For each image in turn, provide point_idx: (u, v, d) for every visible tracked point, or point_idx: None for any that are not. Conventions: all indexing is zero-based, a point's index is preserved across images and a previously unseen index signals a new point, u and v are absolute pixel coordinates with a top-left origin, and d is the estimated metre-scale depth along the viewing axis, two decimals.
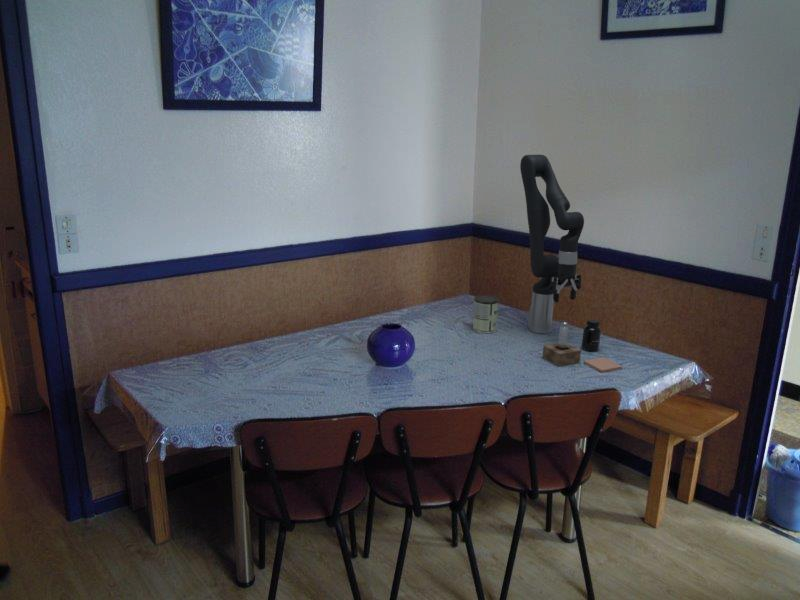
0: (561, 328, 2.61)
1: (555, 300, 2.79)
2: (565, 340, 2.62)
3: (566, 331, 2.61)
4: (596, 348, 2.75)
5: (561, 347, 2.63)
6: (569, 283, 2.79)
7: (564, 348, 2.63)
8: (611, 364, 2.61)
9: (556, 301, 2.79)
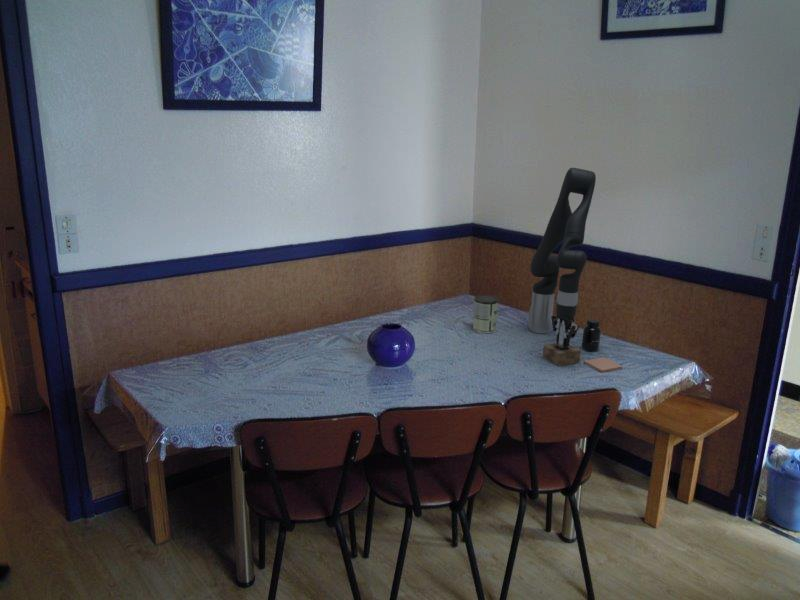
0: (561, 328, 2.61)
1: (568, 345, 2.62)
2: None
3: None
4: (596, 348, 2.75)
5: (561, 347, 2.63)
6: None
7: (564, 348, 2.63)
8: (611, 364, 2.61)
9: (567, 346, 2.62)
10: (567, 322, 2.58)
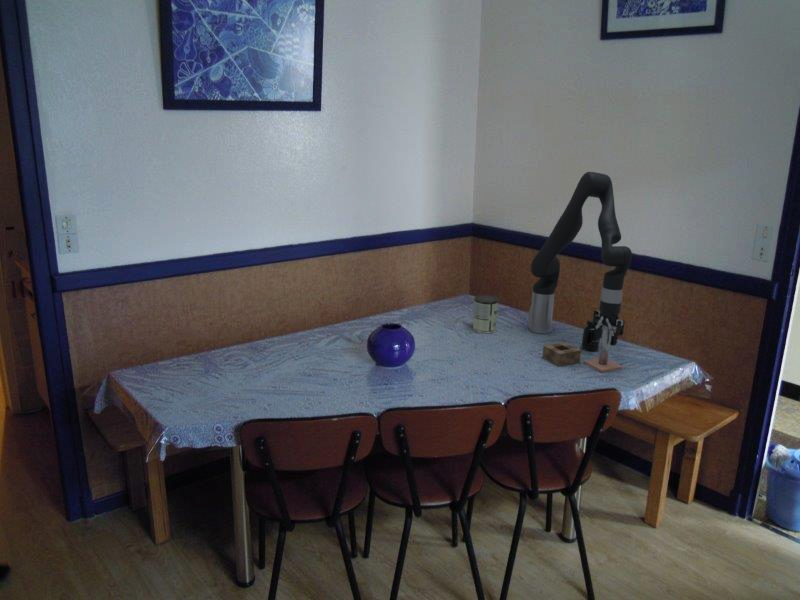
0: (604, 331, 2.56)
1: (616, 343, 2.54)
2: (608, 343, 2.57)
3: (609, 334, 2.56)
4: (596, 348, 2.75)
5: (604, 350, 2.58)
6: None
7: (607, 351, 2.58)
8: (611, 364, 2.61)
9: (615, 344, 2.55)
10: (611, 318, 2.53)
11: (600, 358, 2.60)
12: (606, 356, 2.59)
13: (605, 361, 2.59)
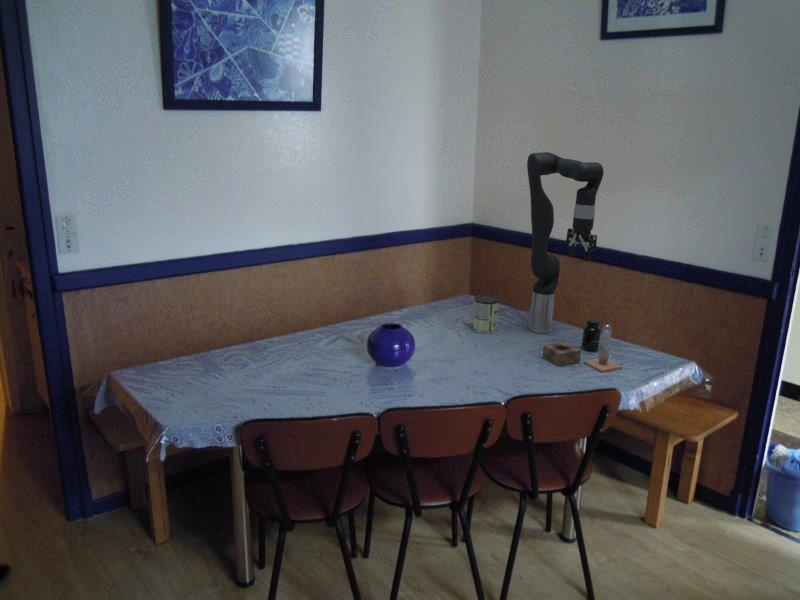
0: (604, 331, 2.56)
1: None
2: (608, 343, 2.57)
3: (609, 334, 2.56)
4: (596, 348, 2.75)
5: (603, 350, 2.58)
6: None
7: (606, 351, 2.58)
8: (611, 364, 2.61)
9: (588, 260, 2.60)
10: (584, 234, 2.58)
11: (600, 358, 2.60)
12: (606, 356, 2.59)
13: (605, 361, 2.59)
